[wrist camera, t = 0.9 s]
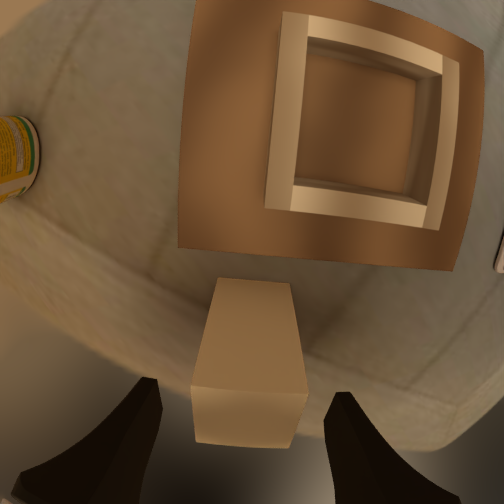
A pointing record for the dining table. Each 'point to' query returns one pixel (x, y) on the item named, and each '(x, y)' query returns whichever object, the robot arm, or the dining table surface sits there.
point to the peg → (249, 367)
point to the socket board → (328, 133)
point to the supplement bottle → (17, 156)
